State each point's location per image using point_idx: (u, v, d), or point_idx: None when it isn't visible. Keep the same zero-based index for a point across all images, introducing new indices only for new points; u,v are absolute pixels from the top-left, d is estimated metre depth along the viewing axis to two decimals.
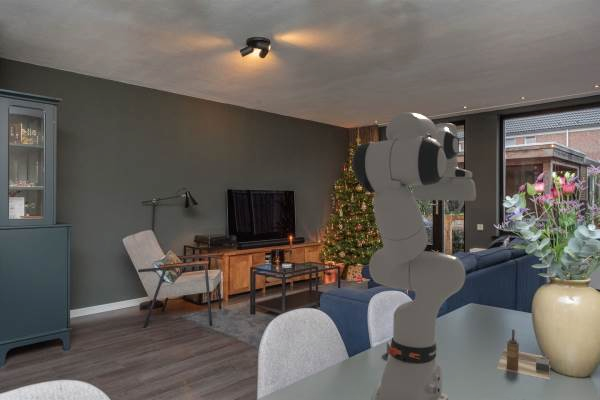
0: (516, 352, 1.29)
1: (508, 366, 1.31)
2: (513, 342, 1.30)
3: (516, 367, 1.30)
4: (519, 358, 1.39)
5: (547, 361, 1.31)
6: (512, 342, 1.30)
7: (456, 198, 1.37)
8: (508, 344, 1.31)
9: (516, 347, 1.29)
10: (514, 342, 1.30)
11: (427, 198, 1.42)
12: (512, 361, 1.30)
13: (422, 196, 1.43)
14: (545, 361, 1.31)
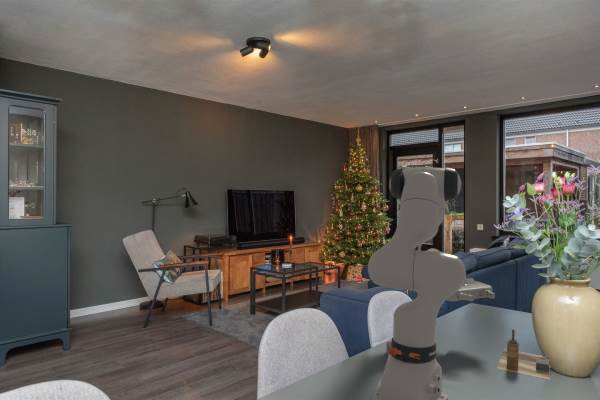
0: (516, 352, 1.29)
1: (508, 366, 1.31)
2: (513, 342, 1.30)
3: (516, 367, 1.30)
4: (519, 358, 1.39)
5: (547, 361, 1.31)
6: (512, 342, 1.30)
7: (481, 287, 1.49)
8: (508, 344, 1.31)
9: (516, 347, 1.29)
10: (514, 342, 1.30)
11: (461, 289, 1.45)
12: (512, 361, 1.30)
13: None
14: (545, 361, 1.31)
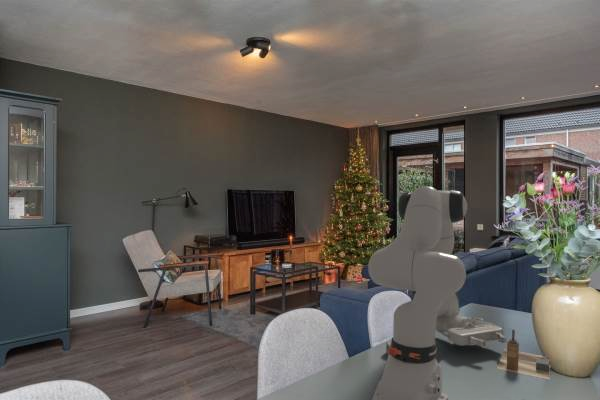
0: (516, 352, 1.29)
1: (508, 366, 1.31)
2: (513, 342, 1.30)
3: (516, 367, 1.30)
4: (519, 358, 1.39)
5: (547, 361, 1.31)
6: (512, 342, 1.30)
7: (491, 330, 1.44)
8: (508, 344, 1.31)
9: (516, 347, 1.29)
10: (514, 342, 1.30)
11: (471, 333, 1.40)
12: (512, 361, 1.30)
13: (465, 333, 1.40)
14: (545, 361, 1.31)
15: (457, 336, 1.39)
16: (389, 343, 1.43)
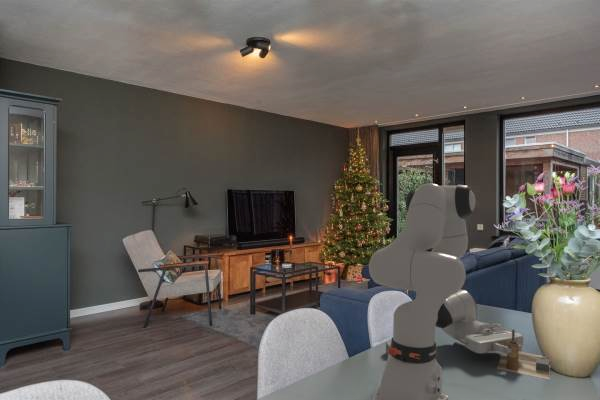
0: (516, 352, 1.29)
1: (508, 366, 1.31)
2: (513, 342, 1.30)
3: (516, 367, 1.30)
4: (519, 358, 1.39)
5: (547, 361, 1.31)
6: (512, 342, 1.30)
7: (511, 336, 1.37)
8: (508, 344, 1.31)
9: (516, 347, 1.29)
10: (514, 342, 1.30)
11: (490, 340, 1.33)
12: (512, 361, 1.30)
13: (484, 340, 1.33)
14: (545, 361, 1.31)
15: (475, 343, 1.32)
16: (389, 343, 1.43)
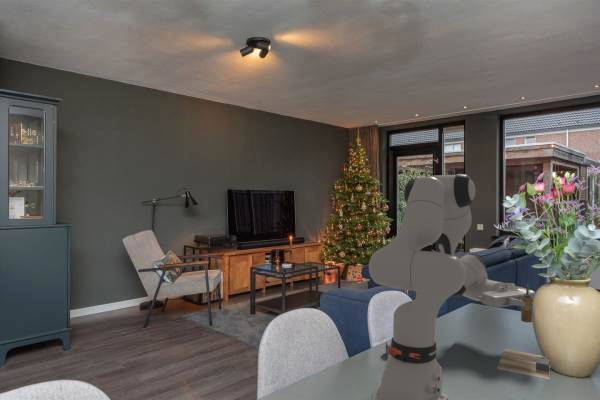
0: (530, 305, 1.38)
1: (522, 319, 1.39)
2: (527, 296, 1.39)
3: (530, 319, 1.38)
4: (519, 358, 1.39)
5: (547, 361, 1.31)
6: (526, 296, 1.39)
7: (525, 293, 1.45)
8: (523, 298, 1.39)
9: (530, 301, 1.38)
10: (528, 296, 1.38)
11: (506, 295, 1.41)
12: (526, 313, 1.38)
13: (500, 295, 1.42)
14: (545, 361, 1.31)
15: (492, 298, 1.40)
16: (388, 343, 1.43)
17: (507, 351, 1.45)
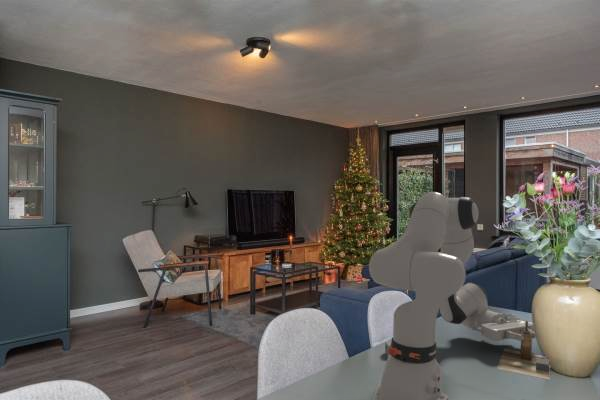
0: (529, 342, 1.38)
1: (522, 355, 1.39)
2: (527, 332, 1.39)
3: (529, 356, 1.38)
4: (519, 358, 1.39)
5: (547, 361, 1.31)
6: (526, 333, 1.39)
7: (524, 325, 1.45)
8: (522, 334, 1.39)
9: (529, 337, 1.38)
10: (527, 332, 1.39)
11: (505, 328, 1.42)
12: (525, 350, 1.38)
13: (499, 328, 1.42)
14: (545, 361, 1.31)
15: (491, 331, 1.40)
16: (388, 343, 1.43)
17: (507, 351, 1.45)
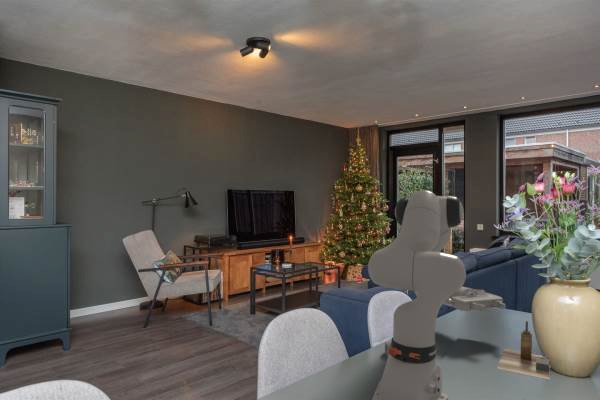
0: (529, 342, 1.38)
1: (522, 355, 1.39)
2: (527, 333, 1.39)
3: (529, 356, 1.38)
4: (519, 358, 1.39)
5: (547, 361, 1.31)
6: (526, 333, 1.39)
7: (492, 298, 1.56)
8: (522, 335, 1.39)
9: (530, 337, 1.38)
10: (528, 333, 1.39)
11: (473, 300, 1.53)
12: (526, 350, 1.38)
13: (468, 299, 1.53)
14: (545, 361, 1.31)
15: (460, 302, 1.51)
16: (388, 343, 1.43)
17: (507, 351, 1.45)
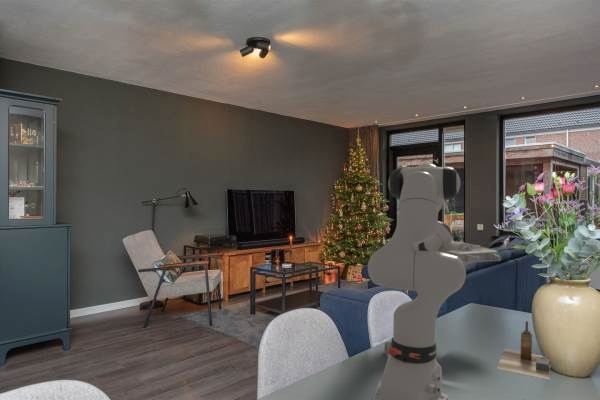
0: (530, 342, 1.38)
1: (522, 355, 1.39)
2: (527, 333, 1.39)
3: (529, 356, 1.38)
4: (519, 358, 1.39)
5: (547, 361, 1.31)
6: (526, 333, 1.39)
7: (487, 251, 1.56)
8: (522, 335, 1.39)
9: (530, 337, 1.38)
10: (528, 333, 1.39)
11: (468, 252, 1.52)
12: (526, 350, 1.38)
13: (463, 252, 1.52)
14: (545, 361, 1.31)
15: (455, 254, 1.51)
16: (387, 343, 1.43)
17: (507, 351, 1.45)
